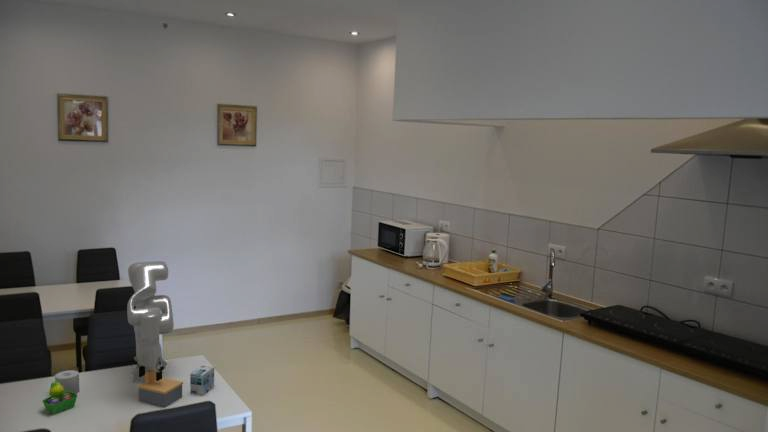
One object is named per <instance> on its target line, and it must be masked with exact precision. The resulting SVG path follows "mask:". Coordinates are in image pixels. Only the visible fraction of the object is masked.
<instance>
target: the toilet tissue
mask: <svg viewBox="0 0 768 432" xmlns="http://www.w3.org/2000/svg"><path fill="white" fill-rule="evenodd" d="M54 382H58V383H60V385H62V386H63V387H64V391H63V392H66V391H70V392H72V393H74V394H77V395H78V394H79V393H80V372H79V370H73V369H71V370H70V369H69V370H63V371H60V372H58V373H56V374H54Z"/></svg>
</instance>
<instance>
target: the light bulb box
mask: <svg viewBox="0 0 768 432" xmlns="http://www.w3.org/2000/svg"><path fill="white" fill-rule="evenodd" d="M189 377H190V383H189V385H190V387H189V389H190V392H189V393H190V395H195V396H201V397H203V396H205V395H206V394H208V393H209V392H210V391H211V390H213V389H214V388H215V366H211V365H203V364H202V365H200V366H199V367H197V368H196V369H195V370H193V371H192V372H191V373H190V375H189Z"/></svg>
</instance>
